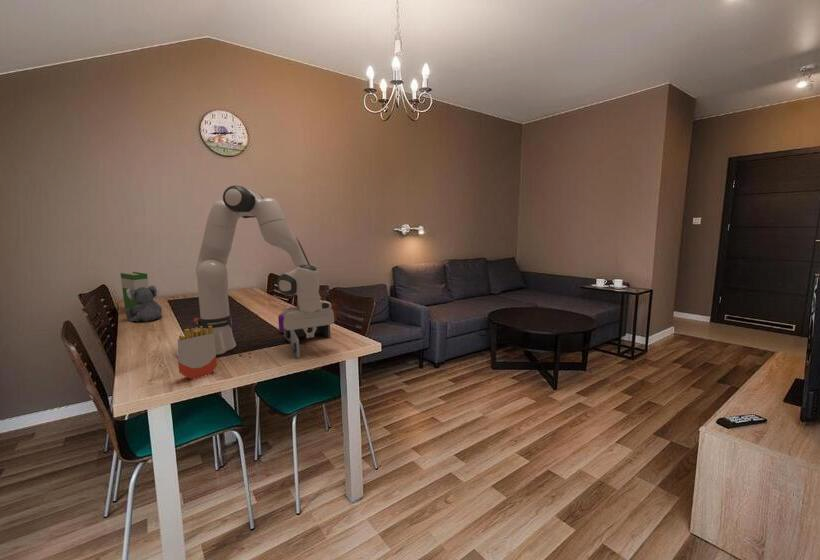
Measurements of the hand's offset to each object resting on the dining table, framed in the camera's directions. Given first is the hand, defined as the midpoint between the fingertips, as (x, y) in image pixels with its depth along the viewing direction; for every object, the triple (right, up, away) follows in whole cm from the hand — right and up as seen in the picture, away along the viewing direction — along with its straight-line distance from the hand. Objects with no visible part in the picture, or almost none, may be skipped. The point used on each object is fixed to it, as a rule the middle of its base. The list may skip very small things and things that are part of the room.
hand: (310, 337), depth 152 cm
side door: (-8, -6, +2) cm, 10 cm away
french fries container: (-34, -10, -21) cm, 41 cm away
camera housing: (-7, -4, +21) cm, 22 cm away
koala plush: (-109, +1, +58) cm, 123 cm away
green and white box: (-128, +4, +77) cm, 150 cm away
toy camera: (-16, -2, +32) cm, 36 cm away
